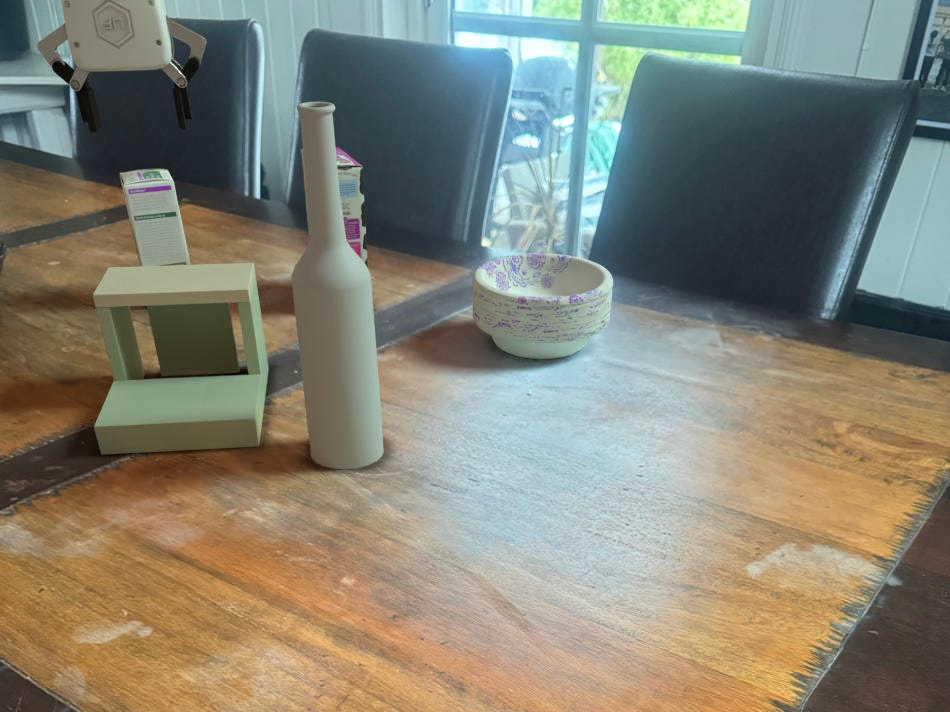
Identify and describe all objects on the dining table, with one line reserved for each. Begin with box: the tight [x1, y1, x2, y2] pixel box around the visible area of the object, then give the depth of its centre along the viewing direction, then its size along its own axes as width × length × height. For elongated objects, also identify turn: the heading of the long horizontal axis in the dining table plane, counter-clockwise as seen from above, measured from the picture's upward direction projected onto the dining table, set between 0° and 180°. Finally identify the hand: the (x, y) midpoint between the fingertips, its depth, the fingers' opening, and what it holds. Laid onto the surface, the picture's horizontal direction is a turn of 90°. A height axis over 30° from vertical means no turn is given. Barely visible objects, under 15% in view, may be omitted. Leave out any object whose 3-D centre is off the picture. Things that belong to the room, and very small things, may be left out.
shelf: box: [92, 262, 270, 455], centre depth 89 cm, size 14×18×11 cm
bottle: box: [291, 101, 385, 470], centre depth 77 cm, size 7×7×28 cm
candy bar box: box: [300, 146, 369, 269], centre depth 112 cm, size 11×5×16 cm, turn 21°
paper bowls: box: [472, 252, 614, 360], centre depth 104 cm, size 15×15×8 cm
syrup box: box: [119, 168, 191, 266], centre depth 112 cm, size 6×6×14 cm
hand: (140, 128), depth 105 cm, fingers open, 9 cm apart
